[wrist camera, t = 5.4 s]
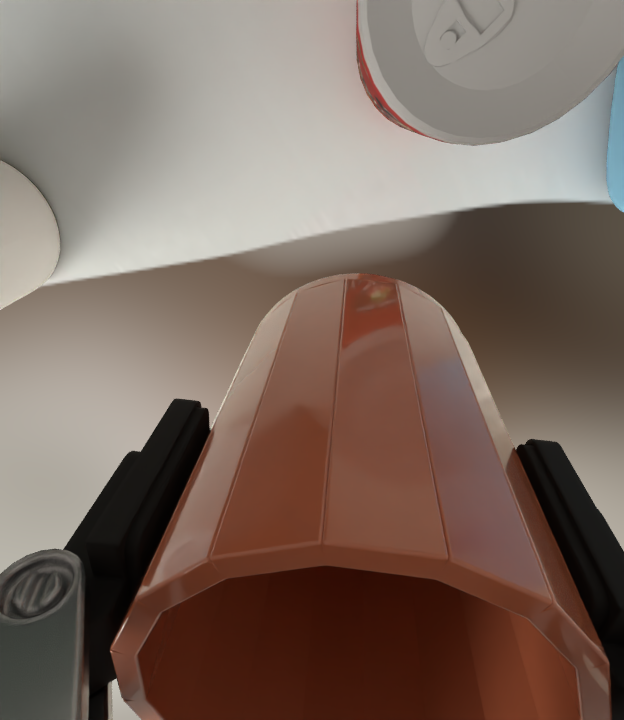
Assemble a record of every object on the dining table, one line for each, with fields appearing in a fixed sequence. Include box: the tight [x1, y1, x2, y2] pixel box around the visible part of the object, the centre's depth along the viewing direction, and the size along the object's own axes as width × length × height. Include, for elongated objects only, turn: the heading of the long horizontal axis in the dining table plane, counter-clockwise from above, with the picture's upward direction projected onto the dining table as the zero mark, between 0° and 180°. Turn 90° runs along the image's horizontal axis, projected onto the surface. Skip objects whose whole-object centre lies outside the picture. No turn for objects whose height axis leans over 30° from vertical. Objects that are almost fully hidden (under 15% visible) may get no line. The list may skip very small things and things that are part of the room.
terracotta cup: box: [110, 273, 613, 720], centre depth 10 cm, size 7×7×9 cm
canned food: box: [356, 0, 624, 146], centre depth 17 cm, size 8×8×11 cm
